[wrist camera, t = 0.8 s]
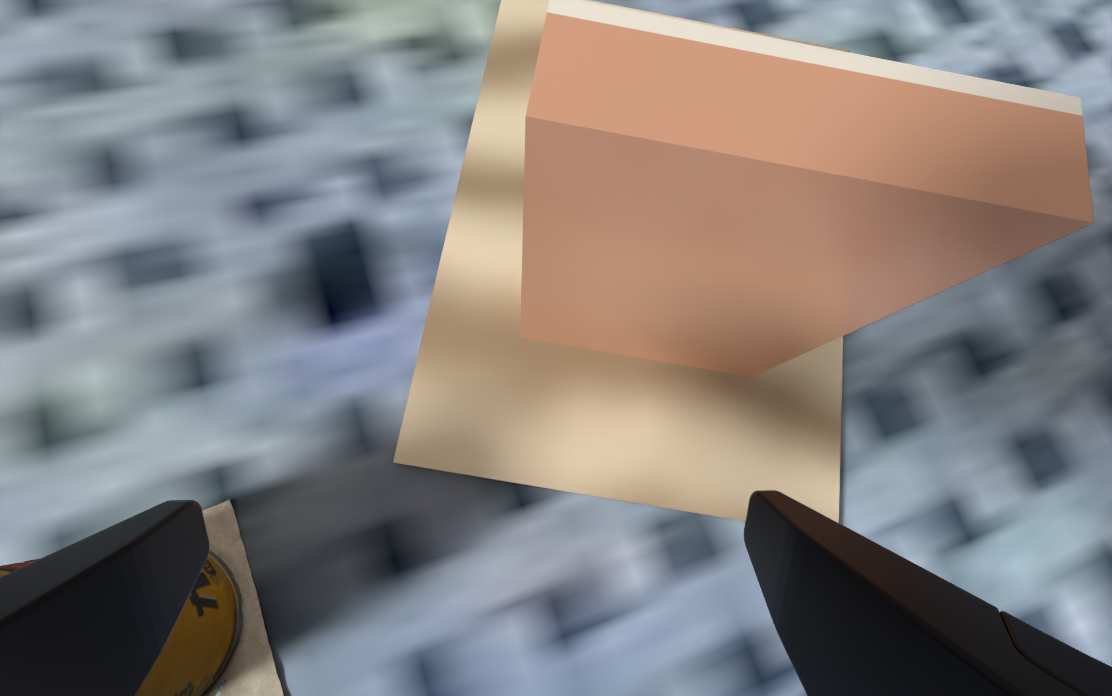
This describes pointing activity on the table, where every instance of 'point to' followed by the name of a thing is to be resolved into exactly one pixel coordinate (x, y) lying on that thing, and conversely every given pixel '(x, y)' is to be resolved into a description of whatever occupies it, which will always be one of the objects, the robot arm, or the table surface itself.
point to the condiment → (214, 625)
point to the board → (592, 360)
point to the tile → (768, 188)
